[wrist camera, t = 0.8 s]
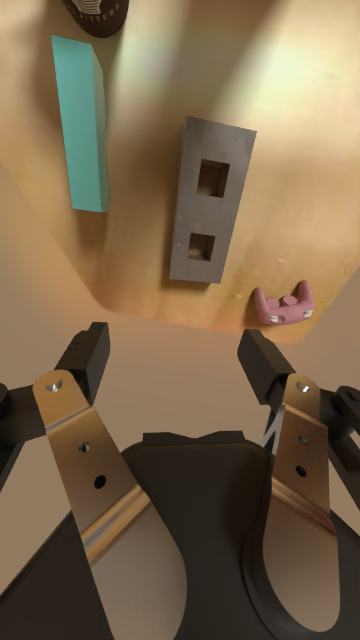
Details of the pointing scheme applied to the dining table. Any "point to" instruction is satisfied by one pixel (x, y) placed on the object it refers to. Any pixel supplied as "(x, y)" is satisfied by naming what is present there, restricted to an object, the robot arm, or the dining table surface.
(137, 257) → the dining table surface
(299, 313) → the video game controller
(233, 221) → the slotted rail
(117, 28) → the coffee mug
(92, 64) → the two prong clip
